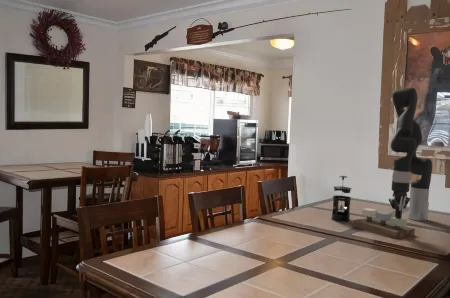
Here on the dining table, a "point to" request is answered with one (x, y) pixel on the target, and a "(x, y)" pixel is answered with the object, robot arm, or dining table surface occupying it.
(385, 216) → the grey squarish block
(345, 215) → the french press
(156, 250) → the dining table surface
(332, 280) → the dining table surface
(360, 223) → the key panel
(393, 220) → the sage key
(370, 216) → the cream block
